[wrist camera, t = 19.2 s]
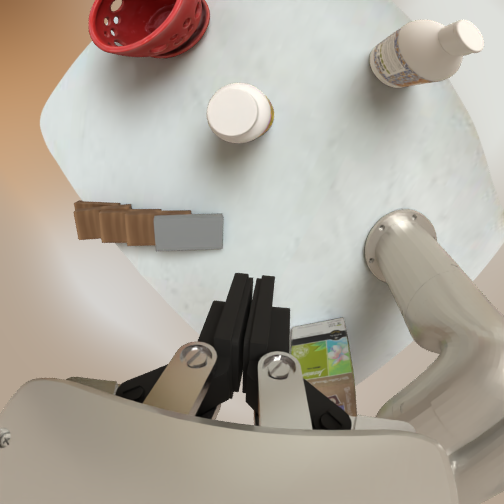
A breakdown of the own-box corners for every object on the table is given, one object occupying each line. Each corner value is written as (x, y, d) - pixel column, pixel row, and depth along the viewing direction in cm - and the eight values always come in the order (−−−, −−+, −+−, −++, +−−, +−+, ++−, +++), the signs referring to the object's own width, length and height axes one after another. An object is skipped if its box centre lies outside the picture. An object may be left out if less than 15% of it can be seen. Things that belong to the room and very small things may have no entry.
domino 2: (129, 207, 41) (73, 212, 39) (132, 236, 43) (78, 239, 41) (131, 204, 42) (76, 208, 40) (134, 232, 45) (81, 235, 43)
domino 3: (160, 212, 41) (98, 213, 39) (161, 242, 43) (101, 242, 41) (161, 209, 42) (101, 209, 40) (161, 238, 45) (104, 238, 42)
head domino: (223, 217, 40) (153, 219, 38) (222, 248, 43) (156, 251, 40) (222, 213, 42) (154, 215, 39) (221, 243, 44) (156, 246, 42)
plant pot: (180, -22, 25) (146, -54, 14) (234, 23, 29) (212, -9, 18) (118, 34, 30) (70, 20, 19) (163, 82, 33) (119, 74, 23)
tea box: (289, 326, 50) (286, 392, 37) (344, 315, 48) (356, 380, 34) (305, 375, 56) (304, 434, 43) (351, 367, 54) (359, 425, 40)
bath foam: (388, 96, 31) (470, 88, 13) (358, 55, 29) (418, 9, 11) (422, 76, 28) (512, 62, 10) (393, 36, 26) (467, -9, 8)
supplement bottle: (271, 140, 36) (263, 152, 25) (222, 135, 36) (193, 144, 25) (277, 93, 33) (272, 81, 22) (228, 88, 33) (200, 76, 22)
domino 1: (117, 205, 42) (74, 203, 43) (120, 233, 44) (78, 228, 45) (121, 202, 43) (79, 200, 44) (124, 229, 46) (83, 225, 46)
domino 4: (191, 214, 41) (124, 215, 38) (190, 244, 43) (127, 245, 41) (190, 210, 42) (126, 211, 40) (190, 240, 44) (129, 241, 42)
